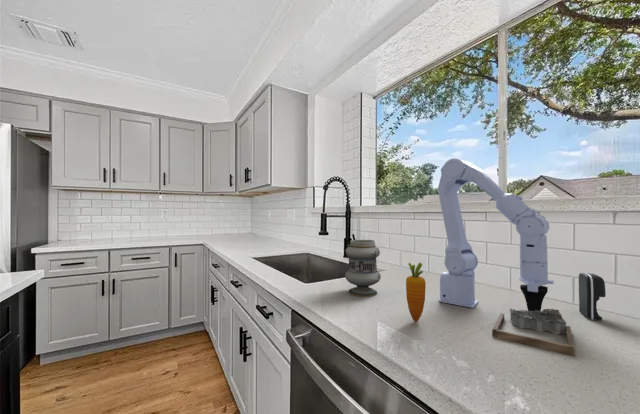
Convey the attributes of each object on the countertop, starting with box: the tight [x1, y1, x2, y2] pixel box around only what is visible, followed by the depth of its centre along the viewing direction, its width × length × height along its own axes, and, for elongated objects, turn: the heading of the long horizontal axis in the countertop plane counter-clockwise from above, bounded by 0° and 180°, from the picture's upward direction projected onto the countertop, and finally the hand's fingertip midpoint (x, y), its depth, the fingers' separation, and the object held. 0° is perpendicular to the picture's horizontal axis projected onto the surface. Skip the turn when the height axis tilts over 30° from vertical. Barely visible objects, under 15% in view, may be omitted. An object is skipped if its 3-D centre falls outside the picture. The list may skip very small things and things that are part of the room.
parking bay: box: [491, 312, 576, 357], centre depth 64 cm, size 14×14×2 cm
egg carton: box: [509, 308, 568, 335], centre depth 69 cm, size 11×8×4 cm
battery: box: [578, 272, 607, 321], centre depth 76 cm, size 7×4×11 cm, turn 153°
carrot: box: [405, 262, 427, 323], centre depth 71 cm, size 5×5×15 cm
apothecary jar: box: [344, 239, 381, 298], centre depth 98 cm, size 12×12×18 cm
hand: (534, 314), depth 73 cm, fingers closed
